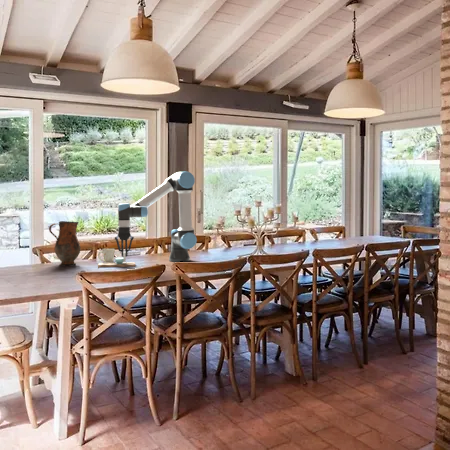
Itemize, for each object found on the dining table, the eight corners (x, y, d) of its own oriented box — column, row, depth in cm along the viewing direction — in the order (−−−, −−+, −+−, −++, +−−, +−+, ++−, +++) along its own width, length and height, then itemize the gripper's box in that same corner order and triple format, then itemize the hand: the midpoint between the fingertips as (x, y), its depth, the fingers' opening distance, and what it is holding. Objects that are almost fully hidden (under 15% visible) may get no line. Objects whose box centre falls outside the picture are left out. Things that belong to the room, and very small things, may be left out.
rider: (123, 264, 342) (123, 257, 341) (123, 266, 336) (123, 258, 335) (116, 265, 341) (116, 257, 341) (115, 266, 335) (115, 259, 335)
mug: (111, 264, 351) (111, 250, 350) (95, 263, 353) (94, 249, 352) (116, 262, 359) (116, 248, 358) (100, 262, 361) (100, 248, 360)
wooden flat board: (135, 265, 344) (135, 262, 344) (134, 268, 336) (134, 264, 336) (99, 266, 341) (99, 262, 341) (97, 268, 332) (97, 264, 332)
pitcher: (85, 264, 348) (84, 221, 345) (55, 268, 333) (54, 223, 331) (73, 262, 360) (72, 220, 357) (44, 265, 345) (43, 221, 342)
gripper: (134, 226, 341) (134, 260, 343) (114, 226, 340) (115, 260, 341) (133, 226, 334) (134, 262, 336) (113, 227, 332) (114, 262, 334)
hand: (124, 261), depth 339 cm, fingers closed
